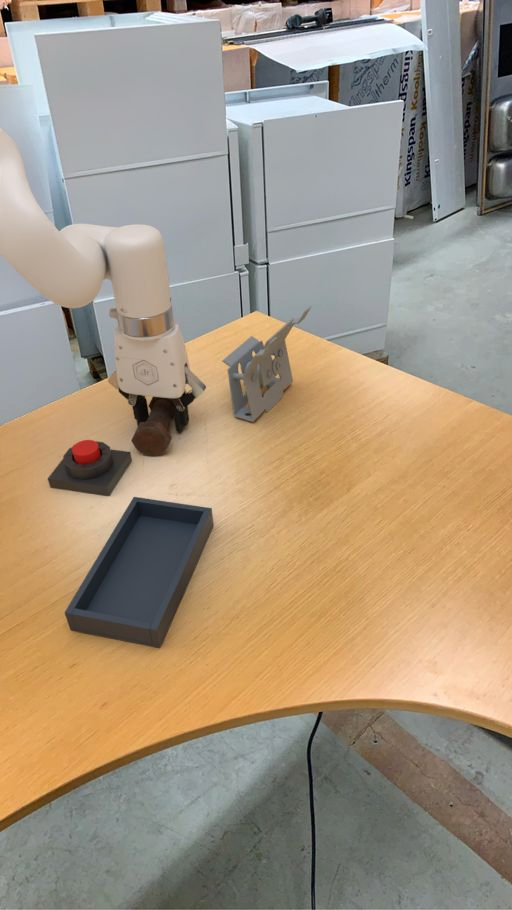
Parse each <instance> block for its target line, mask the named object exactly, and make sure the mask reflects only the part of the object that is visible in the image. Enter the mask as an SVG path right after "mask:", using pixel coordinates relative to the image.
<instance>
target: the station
mask: <svg viewBox="0 0 512 910" xmlns="http://www.w3.org/2000/svg"><path fill="white" fill-rule="evenodd" d="M95 441H96V442H97V443H98V446H99V450H100V454H101V456H100V458H99V460H97V461H95V462H93V463H90V464H85V465H84V464H77V463H76V462H75V459H74V455H73V452H72V448H73V446H74V445H75V444H73V445H72V446H70V448H68V449H67V451H66V452H65V453H64V454H63V456H62V457H63V458H62V460H60V462H59V463H58V464H57V466H55V468H54V469H53V471H52V472H51V473H50V474H49V476H48V477H47V482H48V485H49V487H50V489H56V490H63V491H71V492H77V493H84V494H91V495H97V496H102V497H103V496H104V497H110V496H111V494H112V493H113V491H114V489H115V488H116V487H117V486H118V483H119V482H120V481H121V479H122V477H123V476H124V474H125V472H126V471H127V470H128V468H129V467H130V465H131V464H132V461H133V460H132V454H131V452H130V451H126V450H118V449H111V447H110V446H109V445H108V444H106V443H105V442H104V441H97V440H95Z"/></svg>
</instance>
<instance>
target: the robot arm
mask: <svg viewBox="0 0 512 910" xmlns="http://www.w3.org/2000/svg"><path fill="white" fill-rule="evenodd" d="M0 254H1V256H2V257H3V258H4V259H5V260H6V261H7V263H8V264H9V265H10V266H11V267H12V268H13V269H14V270H15V271H16V272H17V273H18V274H19V275H20V276H21V277H22V278H23V279H24V280H25V281H26V282H27V283H28V284H30V286H31V287H33V288H34V289H35V290H36V291H37V292H38V293H40V294H41V295H42V296H43V297H44V298H45V299H47V300H49V301H50V302H52V303H53V304H55V305H57V306H59V307H63V308H67V309H80V308H84V307H85V306H88V305H89V304H91V303H92V302H93V301H94V300H95V299H96V298H97V296H98V295H99V293H100V291H101V288H102V286H103V283H104V280H109V281H110V282H111V286H112V291H113V296H114V297H113V298H114V302H115V307H110V308H109V312H108V314H109V317H110V318H113V319H115V320H117V325H118V326H117V327H116V328H115V329H114V339H113V340H114V343H113V344H114V349H113V350H114V363H115V370H114V372H112V374H111V375H110V376H109V378H108V379H107V382H108V384H110V385H111V386H112V387H113V388H115V389H116V390H118V393H119V394H120V395H121V396H123V397H124V398H125V399H126V400H127V403H128V405H129V406H132V413H133V418H134V420H135V421H136V424H137V426H136V427H138V426H139V424H140V422H147V420H148V418H149V415H150V412H149V405H148V400H147V398H146V397H151V398H152V397H162V398H171V399H172V401H173V403H174V405H175V406H176V408H175V410H174V418H173V419H174V427H175V431H176V433H179V434H181V433H182V432H183V430H184V429H185V427H186V426H188V424H189V422H190V415H189V408H188V407H189V405H190V404H192V403H193V402H194V400H196V399H197V398H199V397H200V396H201V395H202V394H204V392H205V390H206V389H207V386H206V384H205V383H204V382H203V381H202V380H201V379H200V378H198V376H197V375H196V374H195V373H194V372H192V370H191V368H190V361H189V355H188V352H187V347H186V344H185V340H184V337H183V333H182V331H181V328H180V326H179V324H178V323H176V322H175V319H174V310H173V304H172V296H171V289H170V281H169V280H170V279H169V272H168V264H167V256H166V249H165V243H164V237H163V235H162V233H161V232H160V230H159V229H158V228H156V227H154V226H152V225H149V224H141V223H140V224H139V223H134V224H126V225H123V226H107V225H100V224H92V223H73V224H69V225H66V226H64V227H63V228H61V229H60V230H59V229H58V228H57V227H56V226H55V224H53V222H51V220H50V219H49V218H48V216H47V215H46V214H45V212H44V211H43V209H42V208H41V206H40V204H39V203H38V201H37V200H36V197H35V195H34V194H33V191H32V188H31V186H30V184H29V181H28V177H27V172H26V167H25V163H24V160H23V157H22V154H21V151H20V149H19V147H18V145H17V143H16V142H15V141H14V139H12V137H11V136H10V134H8V133H7V132H6V131H5V130H4V128H2V127H1V126H0ZM186 385H188V386H189V387H190V388H191V389H190V390H188V392H187V390H186Z"/></svg>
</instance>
